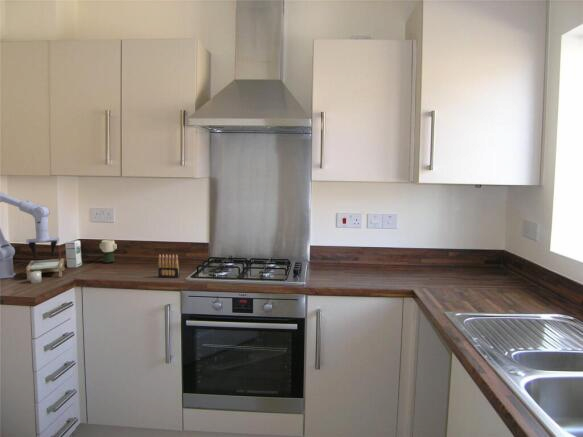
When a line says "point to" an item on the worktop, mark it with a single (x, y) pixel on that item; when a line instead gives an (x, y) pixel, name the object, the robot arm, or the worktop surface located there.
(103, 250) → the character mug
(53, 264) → the trapdoor
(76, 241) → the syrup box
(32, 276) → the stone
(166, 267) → the ammunition clip
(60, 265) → the frame
